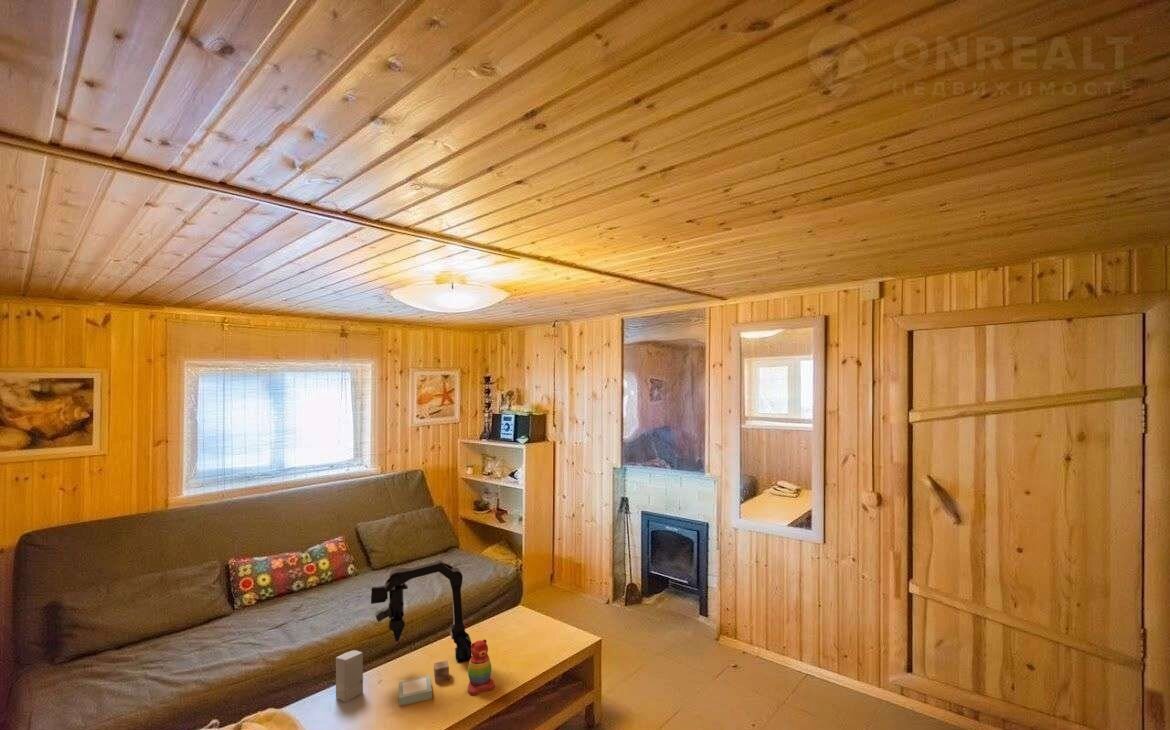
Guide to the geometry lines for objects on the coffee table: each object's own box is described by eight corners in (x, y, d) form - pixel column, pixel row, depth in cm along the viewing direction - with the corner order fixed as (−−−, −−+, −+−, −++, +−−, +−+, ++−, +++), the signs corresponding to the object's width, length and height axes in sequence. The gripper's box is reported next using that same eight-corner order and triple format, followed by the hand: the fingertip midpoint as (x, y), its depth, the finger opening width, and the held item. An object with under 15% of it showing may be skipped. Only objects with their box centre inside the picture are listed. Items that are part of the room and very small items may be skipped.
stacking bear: (470, 696, 206) (469, 650, 207) (463, 684, 215) (463, 639, 216) (497, 688, 211) (496, 643, 212) (489, 677, 220) (488, 633, 221)
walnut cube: (447, 673, 224) (447, 660, 224) (449, 680, 219) (448, 666, 219) (434, 676, 222) (434, 663, 222) (435, 683, 217) (435, 669, 217)
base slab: (429, 683, 217) (429, 675, 217) (431, 698, 205) (431, 690, 205) (398, 689, 212) (398, 681, 212) (399, 705, 201) (399, 697, 201)
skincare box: (345, 703, 204) (345, 661, 205) (334, 698, 208) (334, 657, 208) (364, 692, 211) (364, 652, 212) (353, 687, 215) (353, 647, 216)
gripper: (376, 595, 234) (377, 631, 233) (376, 611, 216) (376, 650, 215) (403, 591, 238) (403, 626, 237) (404, 606, 220) (404, 645, 219)
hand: (396, 636), depth 227 cm, fingers open, 9 cm apart
